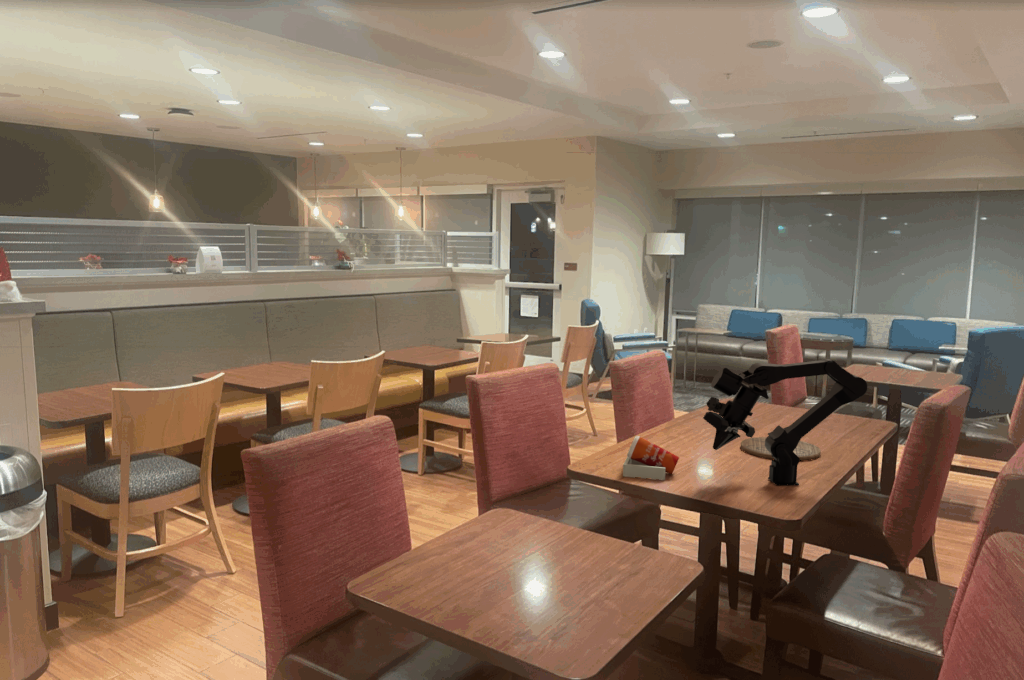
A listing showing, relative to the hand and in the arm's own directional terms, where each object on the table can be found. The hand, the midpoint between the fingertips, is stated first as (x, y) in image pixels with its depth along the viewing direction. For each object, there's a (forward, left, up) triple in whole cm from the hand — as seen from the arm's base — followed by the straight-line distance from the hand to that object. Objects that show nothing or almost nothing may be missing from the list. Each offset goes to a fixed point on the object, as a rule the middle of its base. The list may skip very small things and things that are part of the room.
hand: (714, 448), depth 203 cm
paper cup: (+10, -4, -6) cm, 12 cm away
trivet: (-33, -29, -9) cm, 45 cm away
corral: (+18, -6, -9) cm, 21 cm away
